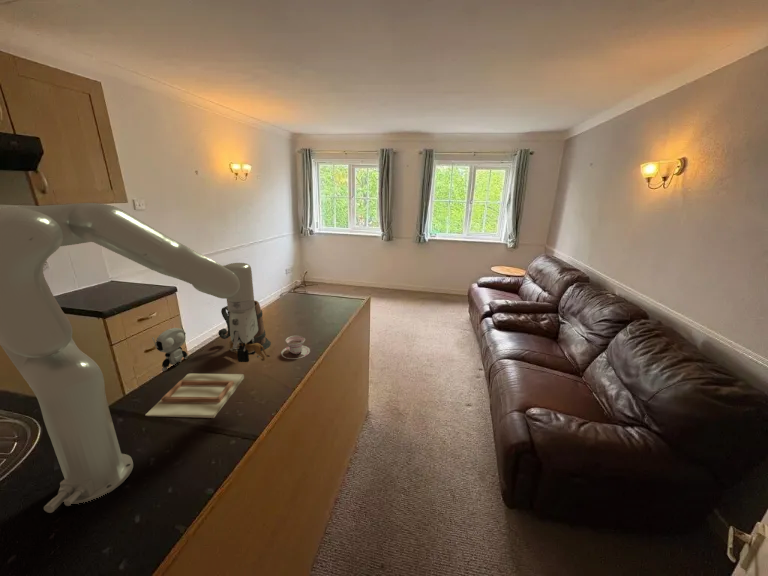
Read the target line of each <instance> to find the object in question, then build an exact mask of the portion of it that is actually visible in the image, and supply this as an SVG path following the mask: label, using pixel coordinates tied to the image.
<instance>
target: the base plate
mask: <svg viewBox="0 0 768 576" xmlns="http://www.w3.org/2000/svg"><path fill="white" fill-rule="evenodd" d="M244 379H245V373H187V374H186V375H185V376H184V377H183V378H181V380H179V381H178V382H177V383H176V384H175V385H174V386H173V387H172V388H171V389H170V390H169V391H167V393H165V394H164V395H163V396H162V397H161V399H160V400H159V401H158V402H157V403H155V405H154V406H153V407H151V409H150V410H148V412H147V413H145V417H166V418H167V417H170V418H171V417H173V418H175V417H176V418H202V419H203V418H207V419H210V418H211V419H214V418H215V417H216V416H217V415H218V413H219V412H220V411H221V409H222V408H223V407H224V405H226V403H227V402H228V401H229V399H230V398H231V397H232V395H233V394H234V393H235V391H236V390H237V389H238V387H239V386H240V385H241V383H242V382H243V380H244Z"/></svg>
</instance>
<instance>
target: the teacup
mask: <svg viewBox="0 0 768 576" xmlns="http://www.w3.org/2000/svg"><path fill="white" fill-rule="evenodd" d="M305 341H306V337H303V335H291V336H288V337H287V338H286V339H285V342H286V344H287V347H285V348H283V349H282V350H281V352H280V354H281V357H283V358H285V359H289V360H298V359H302V358H305V357H307V356H308V355H309V354H310V353H311V349H310V347H308V346H306V345H304V343H305ZM287 350H289V352H290V353H291V354H293V355H299V354H300V355H302V356H300V357H295V358H294V357H293V358H292V357H286V356H284V352H285V351H287Z"/></svg>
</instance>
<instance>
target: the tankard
mask: <svg viewBox="0 0 768 576" xmlns="http://www.w3.org/2000/svg"><path fill="white" fill-rule="evenodd" d="M254 304H255V311H256V316H257V323H258V332H257V333H256V335H255V336H254V342H252V343H259V344H261V345H262V346H263V348H264V350H267V349H268V348H269V347H271V345H272V342H271V341H270V340H269V339H268V338H267V337H266V334H267V333H266V330H265V326H264V320H263V318H264V317H263V314H264V313H263V310H262V309H261V305H260V302H259V301H257V300H255V299H254ZM220 313H221V316H222V317H223V318H222V319H224V321H225V322H226V327H227V328H222V329H220V330H219V331H218V336H219V338H221V339H222V340H227V339H228V338H231V336H230V321H229V315H230V312H229V311H228V307H227V305H226V306H224V307H222V308H221V312H220ZM240 341H241V340H240ZM261 352H263V350H262V349H261ZM255 354H257V353H256V352H255Z"/></svg>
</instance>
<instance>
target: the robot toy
mask: <svg viewBox="0 0 768 576" xmlns="http://www.w3.org/2000/svg"><path fill="white" fill-rule="evenodd" d="M180 327H181V328H180ZM180 327H173V328H168V329H166V330H164V331H162V333H160V334H159V335H158V336H157V338H156V341H155V337H152V341H153V343H154V346H155V349H156V350H157V351H159V352H160V353H165V354H164V357H165V359H164V360H163V361H162V363H161V364H162V365H161V368H162V372H166V371H167V370H168V367H170V365H173V366H178V365H179V364H180V363H182V361H183V359H184V360H187V359H188V358H189V354H188V353H187V351H186V350H183V348H182V346H183V345H184V343H185V341H186V338H187V336H186V332H185V329H184V328H183V324H180ZM179 362H180V363H179ZM178 363H179V364H178ZM175 364H176V365H175Z"/></svg>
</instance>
